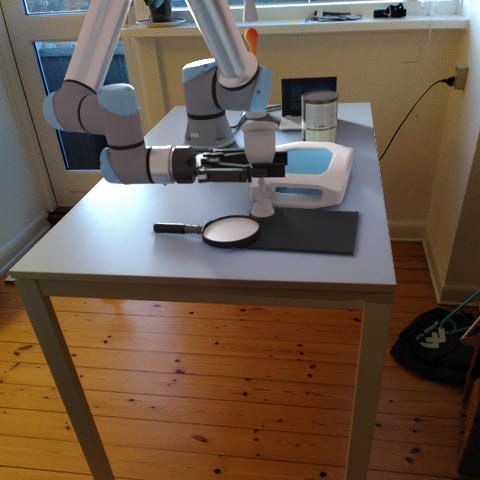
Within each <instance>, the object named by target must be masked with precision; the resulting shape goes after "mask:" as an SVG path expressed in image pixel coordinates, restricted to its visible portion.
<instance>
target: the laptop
mask: <svg viewBox="0 0 480 480" xmlns="http://www.w3.org/2000/svg"><path fill="white" fill-rule="evenodd" d="M337 88H338V76H337V75H327V76H304V77H303V76H301V77H282V78H280V105H281V107H280V108H281V119H280V122H279V125H278V130H279V131H302V99H301V96H302V95H303V94H304V93H307V92H311V91H319V90H327V91H334V92H337V90H338V89H337ZM337 93H338V92H337Z"/></svg>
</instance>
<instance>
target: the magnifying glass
mask: <svg viewBox="0 0 480 480" xmlns="http://www.w3.org/2000/svg"><path fill="white" fill-rule="evenodd" d="M152 228H153V233H155V234H170V235H171V234H173V235H174V234H175V235H186V234H189V235H192V234H194V235H196V234H197V235H201V239H202V241H203V243H204V244H206V245H207V246H209V247H211V248H215V249H221V250H228V249H235V248H238V247H242V246H245V245H248V244H250V243H252V242H253V241H255V240H256V239H257V238H258V237H259V236H260V234H261V226H260V222H259V221H258V220H257V219H255V218H253V217H251V216H249V215H245V214H228V215H223V216H219V217H215V218H214V219H209V220H208V221H206V222H205V223H204V225H203V224H201V225H200V224H197V225H195V224H194V225H193V224H186V223H172V222H171V223H169V222H154V224H153V226H152Z"/></svg>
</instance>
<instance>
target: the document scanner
mask: <svg viewBox="0 0 480 480" xmlns="http://www.w3.org/2000/svg"><path fill="white" fill-rule="evenodd" d="M276 151H288V165H286V166H285V177H283V178H264V181H265V184H264V188H265V190H266V192H265V194H264V197H265V199H266V200H268V201H269V202H270V203H271V205H272V207H274V208H284V209H308V210H316V209H320V208H325V207H331V206H336V205H340V204H341V203H342V202H343V200H344V197H345V194H346V191H347V188H348V183H349V180H350V176H351V170H352V166H353V161H354V148H353V147H351V146H350V147H349V146H346V145H342V144H339V143H336V144H335V143H331V142H302V140H300V141H299V140H298V141H294V142H293V141H292V142H289V143H285V144H280V145H276ZM258 181H259V178H252V182H251V184H250V186H249V197H250V199H251V200H252V201H254V202H256V201H257V200H258V199H259V198H260V194H259V192H258V190H259V187H260V186H259V184H258ZM278 188H299V189H311V190H319V191H320V192H321V193H320V194H319V193H318V194H301V193H298V194H297V193H281V192H278V191H277V189H278Z"/></svg>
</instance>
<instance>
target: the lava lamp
mask: <svg viewBox="0 0 480 480" xmlns="http://www.w3.org/2000/svg"><path fill="white" fill-rule="evenodd" d="M243 2H244V3H243V14H242V15H243V16H242V22H243V23H254V22H259V17H258V11H257V6H256V1H255V0H244V1H243ZM244 32H245V33H244V39H245V41H246V43H247V45H248V47H249V50H250V51H249V52H250V53H252V54H253V55H254V56H255V57H256V59H257V60H258V58H257V45H258V39H259V33H258V31H257V29H256V28H253V27H249V28H247V29H246V30H245V31H244ZM259 66H260V67H263V66H264V65H259ZM266 108H267V107H266ZM266 108H265V109H264V110H263V111H261V112H252V113H250V112H243V113H242V116H243V115H244V114H245V117H244V118H245V119H261V118H265V117H267V115H268V111H267V110H266Z"/></svg>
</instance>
